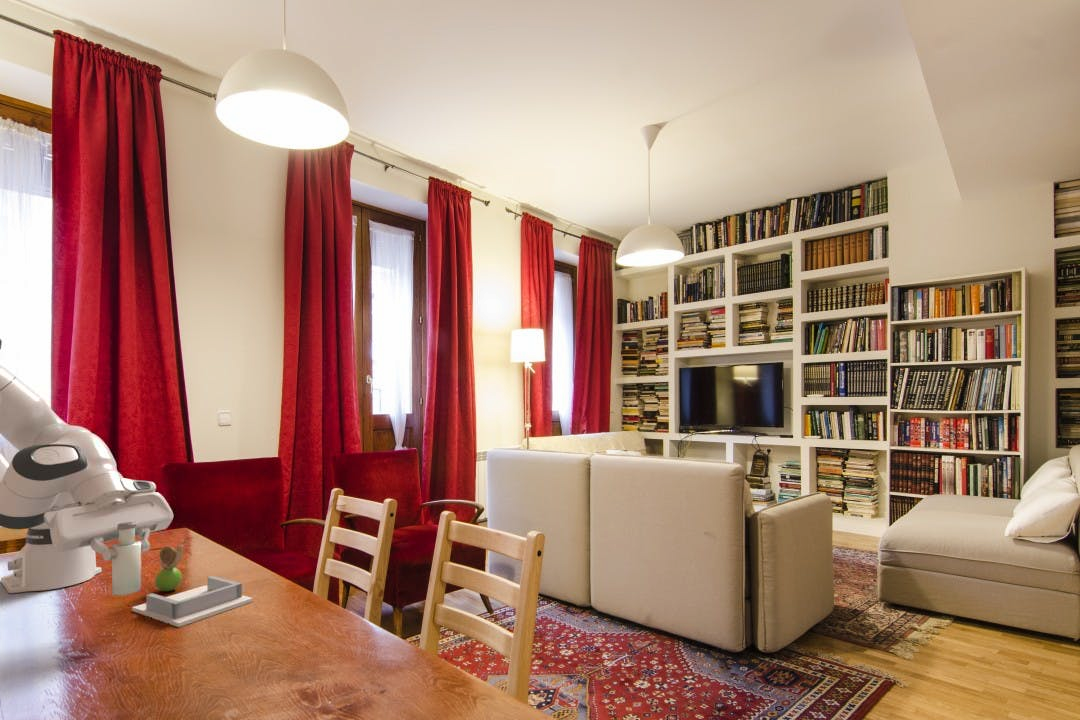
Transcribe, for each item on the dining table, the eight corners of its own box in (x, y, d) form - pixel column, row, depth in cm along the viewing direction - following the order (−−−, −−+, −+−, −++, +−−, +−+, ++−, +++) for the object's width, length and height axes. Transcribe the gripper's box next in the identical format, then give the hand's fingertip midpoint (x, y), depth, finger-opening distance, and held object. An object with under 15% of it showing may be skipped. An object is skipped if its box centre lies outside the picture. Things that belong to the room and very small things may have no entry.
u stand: (132, 610, 127) (132, 593, 127) (205, 588, 141) (206, 572, 141) (178, 627, 118) (179, 607, 118) (252, 601, 132) (252, 584, 132)
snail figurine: (172, 595, 136) (173, 543, 136) (149, 594, 137) (150, 542, 138) (190, 587, 141) (191, 537, 142) (168, 586, 142) (168, 536, 143)
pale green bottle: (107, 592, 113) (107, 524, 114) (133, 585, 117) (133, 519, 118) (119, 596, 111) (119, 527, 112) (145, 589, 115) (146, 522, 116)
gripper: (46, 498, 109) (70, 558, 104) (162, 480, 127) (187, 531, 122) (35, 520, 111) (58, 580, 106) (150, 499, 129) (175, 550, 124)
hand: (128, 553), depth 114 cm, fingers closed on pale green bottle, 5 cm apart
